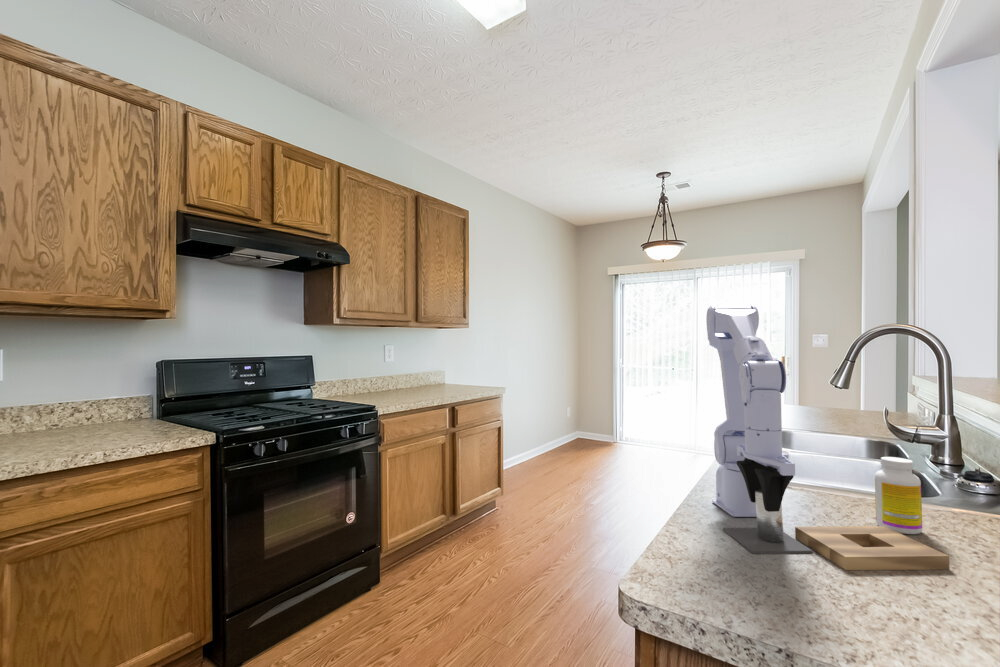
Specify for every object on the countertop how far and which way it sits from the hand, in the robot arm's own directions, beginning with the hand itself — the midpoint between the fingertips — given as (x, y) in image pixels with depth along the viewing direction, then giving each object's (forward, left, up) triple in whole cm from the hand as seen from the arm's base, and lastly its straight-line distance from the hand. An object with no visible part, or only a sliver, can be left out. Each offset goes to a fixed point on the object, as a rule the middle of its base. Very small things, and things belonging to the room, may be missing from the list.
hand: (764, 506), depth 83 cm
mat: (0, 0, -6) cm, 6 cm away
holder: (+5, +14, -6) cm, 16 cm away
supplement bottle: (-5, +28, -6) cm, 29 cm away
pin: (0, +1, -6) cm, 6 cm away
